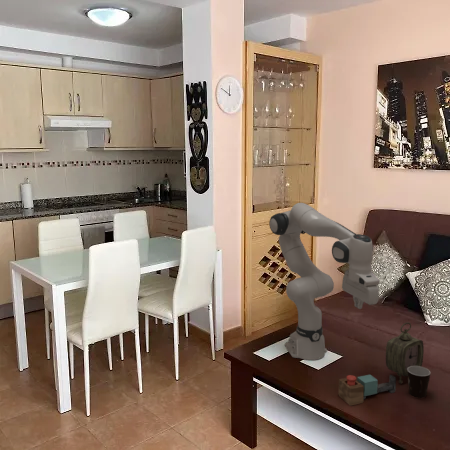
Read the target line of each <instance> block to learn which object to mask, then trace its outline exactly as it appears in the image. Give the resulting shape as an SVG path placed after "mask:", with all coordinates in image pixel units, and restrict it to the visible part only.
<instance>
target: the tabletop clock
mask: <svg viewBox="0 0 450 450" xmlns="http://www.w3.org/2000/svg"><path fill="white" fill-rule="evenodd" d="M407 325H409V328H408V329H406V328H405V329H404V330H402V329H403V327H404V326H407ZM411 328H412V323H411V322H405V323H404V322H403V324H402V325H401V326H400V329H399V330H400V332H401V333H400V334H399V335H398V336H395V337H392V338H391V339H389V340H388V341H387V342H386V347H385V365H386V367H387V369H388V370H390V371H391V372H394V373H396V375H397V377H399V379H398V383H399V384H402V383H403V380H402V376H403V377H408V372H407V368H408V367H410V366H421V367H423V362H424V361H423V360H424V355H425V354H424V347H425V346H424V340H421V339H418V338H416V337H413V336H412V335H411V334H410V333H409V331H410V330H411Z"/></svg>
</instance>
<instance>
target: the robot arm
mask: <svg viewBox="0 0 450 450" xmlns="http://www.w3.org/2000/svg"><path fill="white" fill-rule="evenodd" d="M268 224H269V228H270V230H271V232H272V233H273V235H277V236H278V244H279V247H280V250H281V253H282V256H283V258H284V260H285V262H286V264H287V266H288V270H289V271H290V272H293V273H294V274H297V275H298V276H300V277H297V278H295V279H293V280H290V281H289V282H287V285H286V287H285V288H286V289H285V291H286V295H287V297H288V299H289V300H290V301H292V302H293V303H294V305H295V306H296V309H297V321H298V323H296V325H295V326H296V330H295V331H294V332H292V333H290V335H289V339H288V341H286V342H284V347H285V348H286V350H287V351H288V353H289V355H290V356H291V357H292V358H295V359H296V358H297V359H302V360H307V361H315V360H321V359H323V358H324V357H325V355H326V353H327V352H328V349H327V348H326V346H325V345H326V344H325V343H326V342H325V336H324V335H323V333H324V332H323V329H324V328H323V325H322V314H323V313H322V310H321V309H320V308H319V306H316V305H315V303H314V301H315V299H317V298H322V297H325V296H327V295H329V294H330V293H332V292H333V291H334V287H335V282H334V280H333V278H332V276H331V275H330V274H327V273H325V272H324V271H322V270H321V269H319V268H318V266H317V265H315V263H314V262H313V261H312V260H311V258H310V256H309V255H308V254H309V253H308V251H307V250H306V248H305V246H304V244H303V242H302V239H301V234H302V235H305V234H307V235H308V236H311V237H316V238H319V237H323V238H324V237H325V238H327V237H328V238H334V239H336V241H334V243H333V245H332V246H331V255H332V257H333V259H334V260H335V261H336V262H337V263H341V264H348V265H349V267H348V269H346V270H345V271H344V275H343V277H342V283H341V289H342V291H344V292H345V293H348V294H350V295H351V296H352V300H353V302H354V307H355V308H357V309H359V310H361V309H363V305H364V303H365V304H367V305H369V306H372V305H377V303H378V302H379V294H380V293H379V292H380V289H379V286H378V285H379V284H380V279H379V277H377V276H376V275H375V274H374V272H373V267H372V261H373V255H374V245H373V241H372V238H371V237H370V236H369V235H365V234H359V233H358V234H357V233H355V232H353V231H352V230H351V229H350V228H348V227H345V226H344V225H343V224H341V223H339V222H337V221H335V220H333V219H331V218H329V217H327V216H326V215H324V214H322V213H321V212H320V211H319V210H317V209H315V208H314V207H312V206H311V205H309V204H307V203H304V202H298V203H295V204H294V205H293V206H292V207H291V209H290V210H288V211H287V210H286V211H283V212H278V213H275V214H274V215H272V216H271V217H269V223H268Z"/></svg>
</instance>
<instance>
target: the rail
mask: <svg viewBox="0 0 450 450" xmlns="http://www.w3.org/2000/svg"><path fill="white" fill-rule="evenodd" d="M388 378H389V381H388V382H383V383H378V386H377V394H378V393H383V392H388V393H389V394H394V393H395V392H396V391H397V390H396V389H397V387H396V386H397V378H396V376H395V375H393V374H389V377H388ZM366 397H367V396H363V400H366V399H367V398H366Z"/></svg>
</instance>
